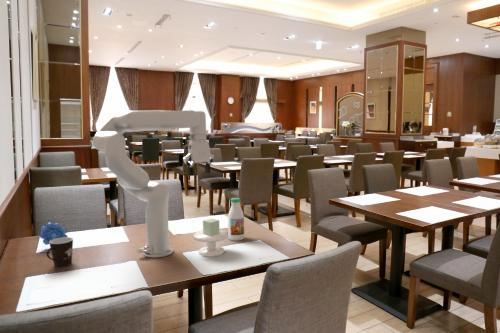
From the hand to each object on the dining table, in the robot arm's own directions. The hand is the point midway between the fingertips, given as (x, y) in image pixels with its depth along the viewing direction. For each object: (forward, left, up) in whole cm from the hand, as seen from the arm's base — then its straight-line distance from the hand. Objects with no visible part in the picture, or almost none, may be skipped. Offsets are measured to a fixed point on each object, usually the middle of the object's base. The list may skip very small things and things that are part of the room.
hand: (199, 174), depth 182 cm
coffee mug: (-59, +19, -33) cm, 70 cm away
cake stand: (-8, -16, -32) cm, 37 cm away
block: (-8, -16, -24) cm, 30 cm away
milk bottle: (+13, -10, -33) cm, 37 cm away
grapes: (-52, +44, -33) cm, 75 cm away
